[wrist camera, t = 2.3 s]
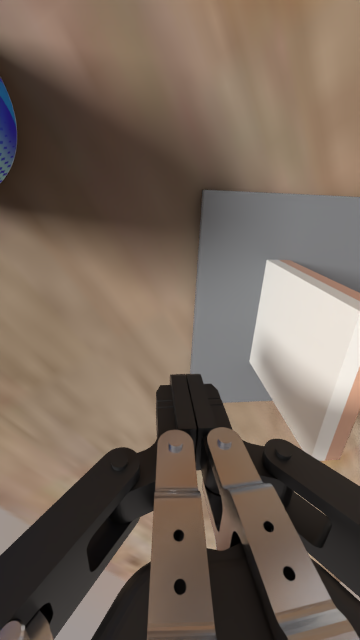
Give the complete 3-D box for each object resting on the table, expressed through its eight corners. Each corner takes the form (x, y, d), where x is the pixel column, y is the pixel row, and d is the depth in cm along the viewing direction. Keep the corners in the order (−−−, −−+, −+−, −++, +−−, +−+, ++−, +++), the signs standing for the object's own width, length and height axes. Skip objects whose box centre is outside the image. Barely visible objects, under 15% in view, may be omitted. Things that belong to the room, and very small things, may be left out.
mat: (202, 189, 19) (204, 189, 18) (484, 203, 21) (492, 203, 21) (188, 399, 26) (189, 404, 26) (397, 391, 29) (402, 394, 28)
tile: (266, 259, 21) (360, 311, 12) (289, 259, 21) (399, 311, 12) (249, 361, 24) (309, 461, 15) (268, 361, 24) (339, 459, 15)
